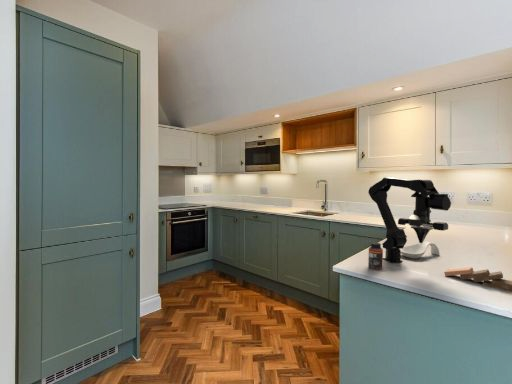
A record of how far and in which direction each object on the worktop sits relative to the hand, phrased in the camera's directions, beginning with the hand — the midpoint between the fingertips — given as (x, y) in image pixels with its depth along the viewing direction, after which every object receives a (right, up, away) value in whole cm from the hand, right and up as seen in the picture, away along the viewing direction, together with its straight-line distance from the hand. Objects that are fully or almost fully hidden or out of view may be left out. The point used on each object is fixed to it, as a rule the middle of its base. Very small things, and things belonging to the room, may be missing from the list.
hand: (421, 242), depth 125 cm
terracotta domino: (+8, -12, -5) cm, 15 cm away
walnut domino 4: (+18, -11, -17) cm, 27 cm away
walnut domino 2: (+14, -12, -13) cm, 22 cm away
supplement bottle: (-19, -12, +2) cm, 23 cm away
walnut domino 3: (+15, -13, -15) cm, 25 cm away
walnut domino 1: (+11, -12, -10) cm, 19 cm away
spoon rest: (+13, -11, +23) cm, 29 cm away
